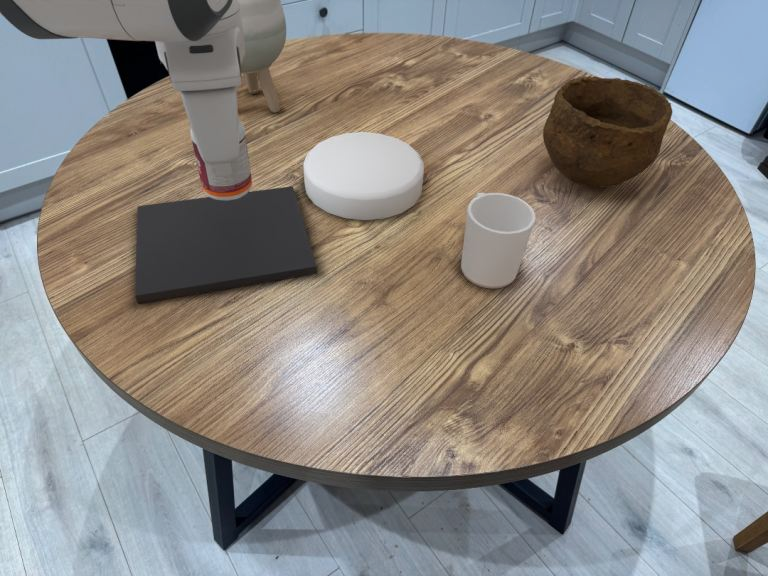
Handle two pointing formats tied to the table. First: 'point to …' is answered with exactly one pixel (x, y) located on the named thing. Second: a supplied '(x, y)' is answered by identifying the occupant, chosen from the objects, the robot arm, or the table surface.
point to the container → (363, 176)
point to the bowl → (605, 130)
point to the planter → (262, 44)
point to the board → (220, 244)
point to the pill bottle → (229, 184)
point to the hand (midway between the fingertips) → (221, 155)
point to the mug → (495, 238)
